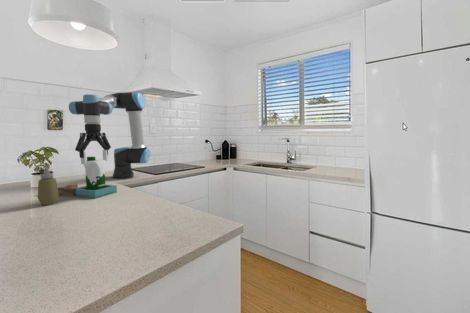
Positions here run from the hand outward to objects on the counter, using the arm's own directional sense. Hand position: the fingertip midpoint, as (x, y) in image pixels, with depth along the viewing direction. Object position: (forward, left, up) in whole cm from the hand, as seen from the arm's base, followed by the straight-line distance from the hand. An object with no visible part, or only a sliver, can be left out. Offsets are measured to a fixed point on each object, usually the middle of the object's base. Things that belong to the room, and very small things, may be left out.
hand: (95, 162), depth 131 cm
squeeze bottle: (+21, -6, -18) cm, 29 cm away
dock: (+1, -14, -18) cm, 23 cm away
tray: (0, 0, -18) cm, 18 cm away
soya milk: (0, 0, -17) cm, 17 cm away
